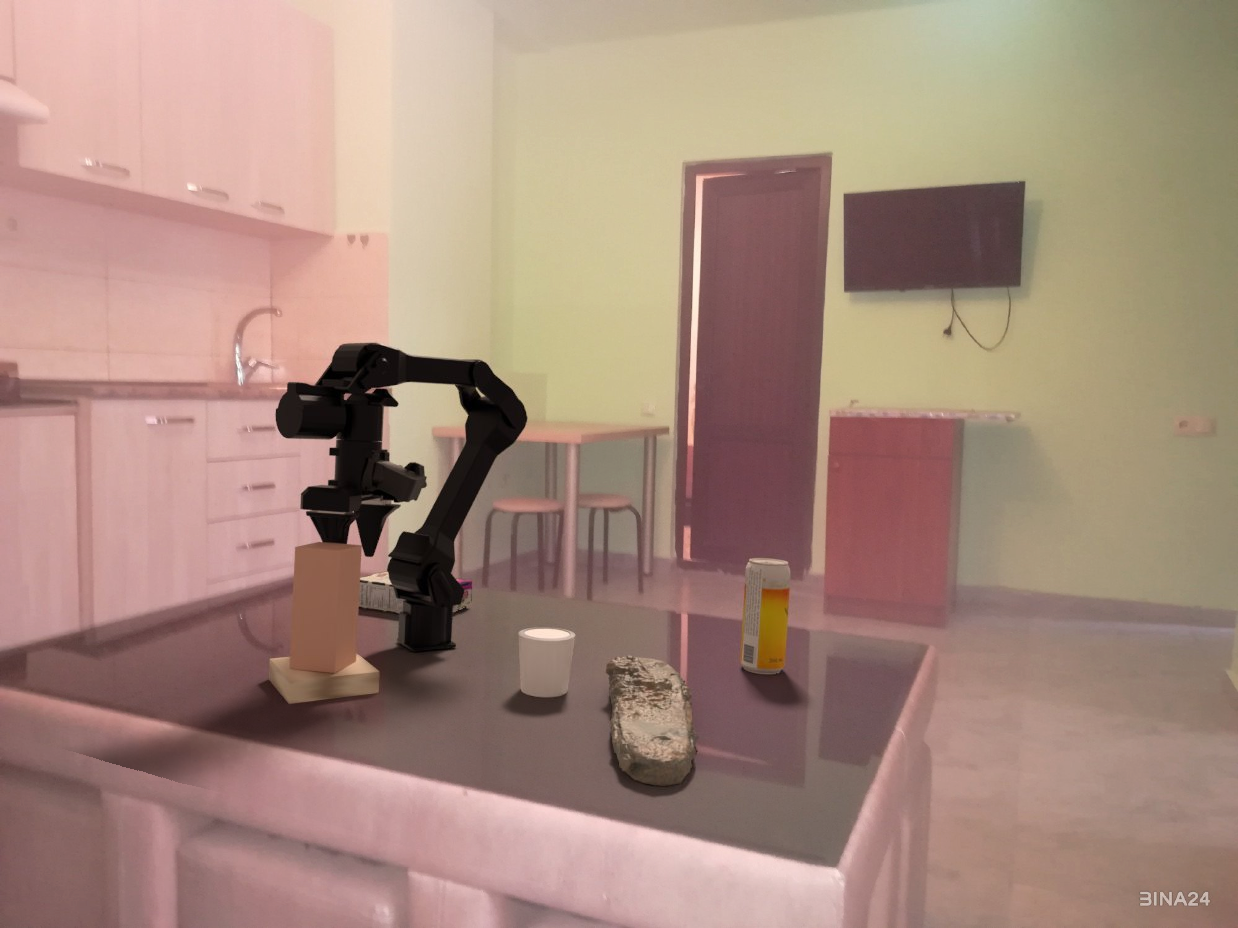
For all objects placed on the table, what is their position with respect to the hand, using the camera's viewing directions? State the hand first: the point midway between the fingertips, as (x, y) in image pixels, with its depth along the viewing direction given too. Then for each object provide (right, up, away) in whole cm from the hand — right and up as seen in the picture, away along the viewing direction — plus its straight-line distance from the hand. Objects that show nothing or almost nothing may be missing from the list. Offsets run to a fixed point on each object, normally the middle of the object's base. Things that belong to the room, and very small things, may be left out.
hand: (354, 561), depth 114 cm
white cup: (+25, -15, -7) cm, 30 cm away
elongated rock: (+37, -16, -17) cm, 44 cm away
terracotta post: (0, -11, -10) cm, 15 cm away
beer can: (+54, -16, +7) cm, 57 cm away
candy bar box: (+7, -10, +31) cm, 33 cm away
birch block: (-1, -14, -10) cm, 17 cm away
